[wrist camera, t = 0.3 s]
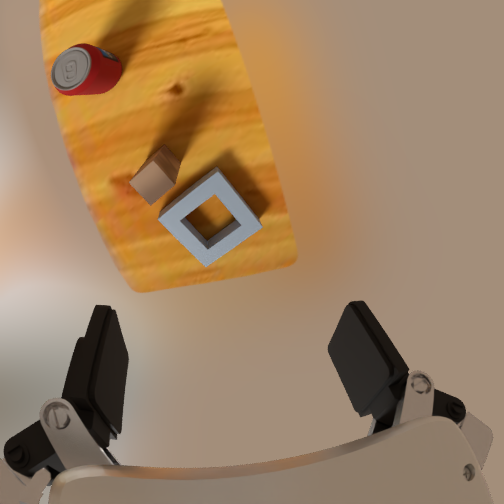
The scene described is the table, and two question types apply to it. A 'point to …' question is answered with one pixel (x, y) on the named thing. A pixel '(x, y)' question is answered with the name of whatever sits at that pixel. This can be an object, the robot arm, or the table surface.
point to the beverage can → (85, 70)
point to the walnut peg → (156, 175)
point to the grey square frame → (222, 240)
